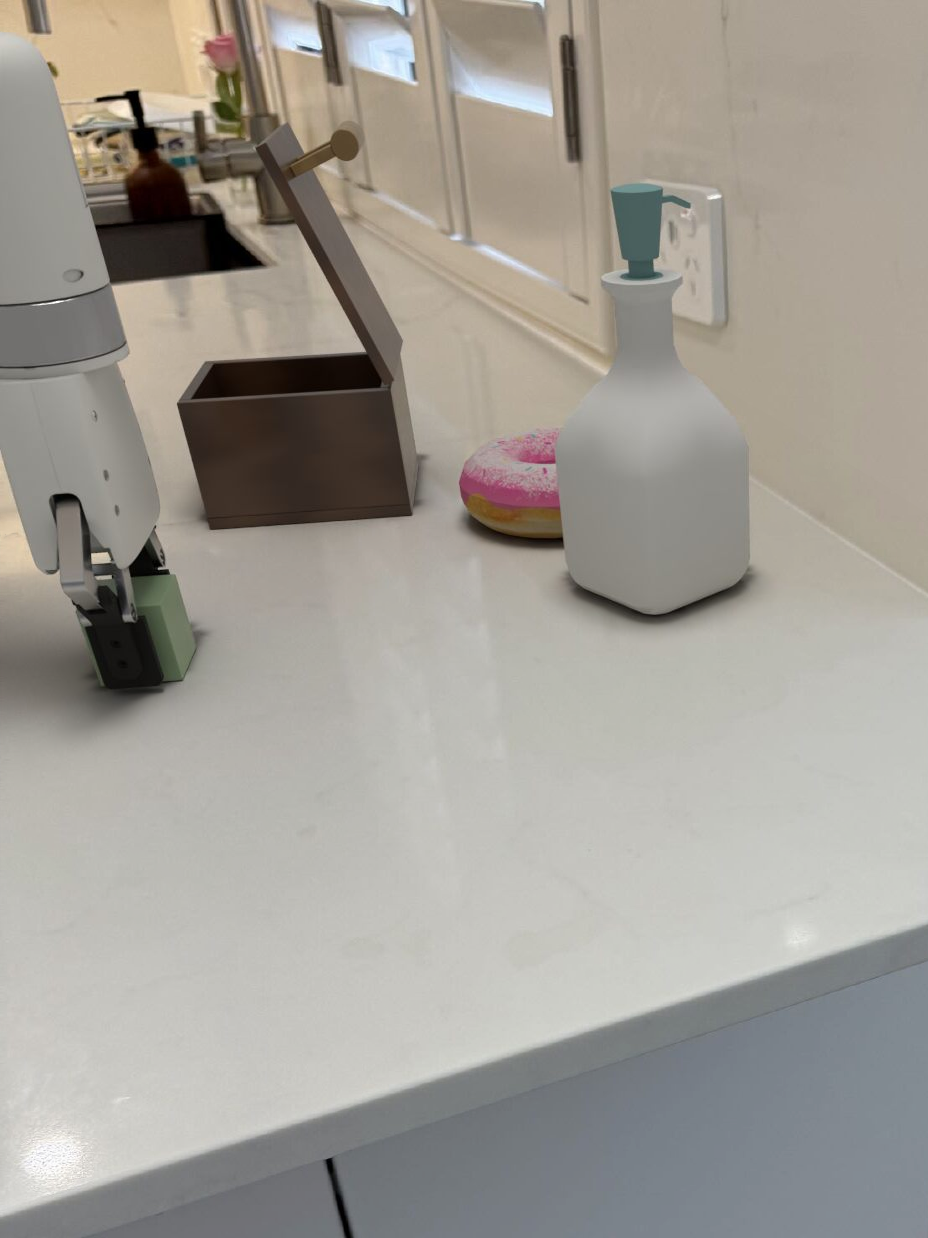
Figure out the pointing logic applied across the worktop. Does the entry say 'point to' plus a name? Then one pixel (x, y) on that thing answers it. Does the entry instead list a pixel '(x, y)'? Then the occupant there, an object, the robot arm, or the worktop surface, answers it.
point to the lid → (333, 236)
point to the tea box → (299, 440)
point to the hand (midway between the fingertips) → (147, 657)
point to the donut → (515, 484)
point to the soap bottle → (651, 448)
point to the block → (160, 622)
